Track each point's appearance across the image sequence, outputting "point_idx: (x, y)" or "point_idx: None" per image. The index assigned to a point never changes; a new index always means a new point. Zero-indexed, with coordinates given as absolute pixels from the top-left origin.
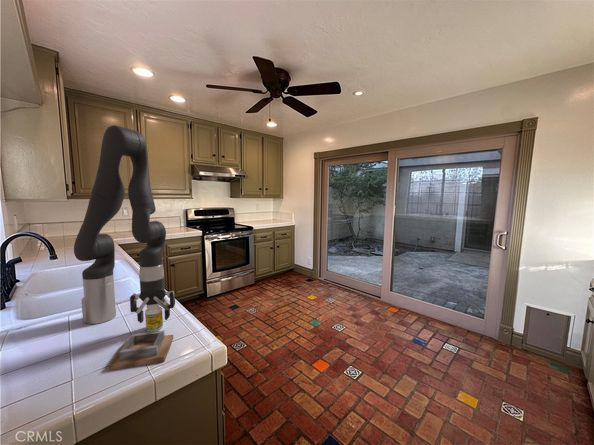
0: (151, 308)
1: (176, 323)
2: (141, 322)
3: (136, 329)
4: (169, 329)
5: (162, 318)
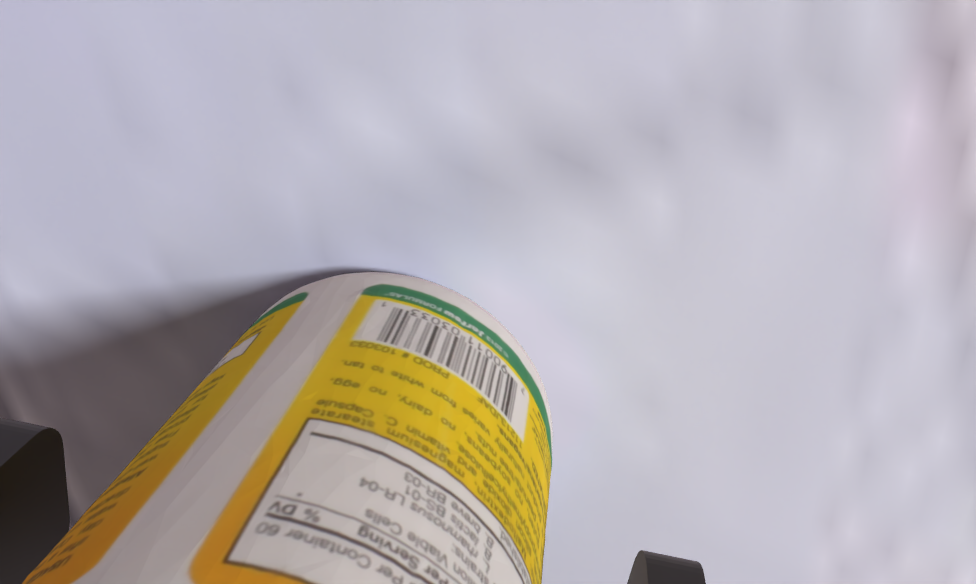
0: None
1: (849, 408)
2: None
3: (35, 304)
4: None
5: (541, 574)
